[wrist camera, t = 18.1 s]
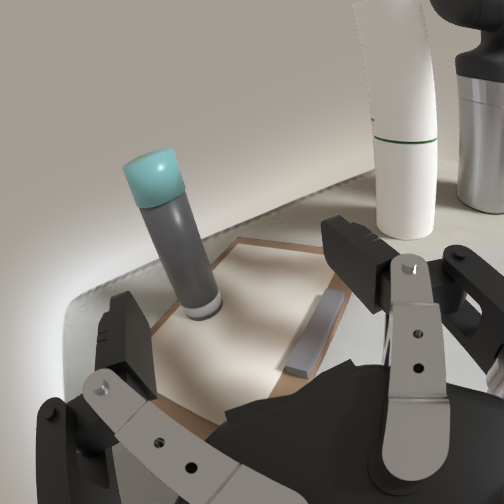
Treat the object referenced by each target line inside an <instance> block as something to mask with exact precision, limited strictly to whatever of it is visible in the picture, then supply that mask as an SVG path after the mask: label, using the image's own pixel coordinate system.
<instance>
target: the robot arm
mask: <svg viewBox="0 0 504 504" xmlns="http://www.w3.org/2000/svg"><path fill="white" fill-rule="evenodd" d="M430 2H431V4H432V6H433V8H434V10H435V11H436V12H437V13H438V15H439V16H441V17H442V18H443V19H444V20H446V21H448V22H450V23H453V24H455V25H458V26H462V27H467V28H472V29H478V30H481V43H480V45H479V46H478V47H477V48H475V49H473V50H471V51H469V52H465V53H461V54H459V55H457V56H456V58H455V65H456V74H457V84H458V96H459V121H460V143H459V145H460V146H459V147H460V148H459V169H458V184H457V196H458V197H459V199H460V200H461V201H462V202H464V203H465V204H466V205H468V206H470V207H472V208H474V209H477V210H480V211H483V212H488V213H504V0H430ZM321 232H322V242H323V252H324V257H325V260H326V262H327V264H328V265H329V267H330V268H331V269H332V270H333V271H334V272H335V273H336V274H337V275H338V276H339V277H340V279H341V280H342V281H343V282H344V283H345V284H346V285H347V286H348V287H349V288H350V289H351V291H352V292H353V293H354V294H355V295H356V296H357V297H358V298H359V299H360V301H361V302H362V303H363V304H364V305H365V306H366V307H367V308H368V310H369V311H370V312H371V313H372V314H375V313H377V312H379V311H381V310H383V311H384V312H385V313H386V314H385V327H384V344H383V357H382V364H381V365H375V364H373V365H361V366H355V365H354V363H353V362H352V360H351V359H349V360H347V361H345V362H343V363H341V364H339V365H337V366H335V367H333V368H331V369H329V370H326V371H324V372H322V373H321V374H319V375H318V376H317V377H315V378H314V379H313V380H311V381H310V382H309V383H307V384H306V385H305V386H303V387H302V388H301V389H299V390H298V391H297V392H295V393H293V394H290V395H285V396H279V397H273V398H267V399H260V400H255V401H252V402H250V403H247V404H244V405H241V406H239V407H236V408H233V409H230V410H227V411H224V413H225V416H226V419H227V421H225V422H224V423H222V424H221V425H219V426H218V427H217V428H216V429H215V430H214V431H213V432H212V433H210V435H209V436H208V437H207V438H206V440H205V441H203V440H202V439H200V438H199V437H197V436H196V435H194V434H193V433H191V432H190V431H189V430H187V429H186V428H184V427H183V426H182V425H180V424H179V423H177V422H176V421H175V420H173V419H172V418H171V417H169V416H168V415H167V414H165V413H164V412H163V411H162V410H160V409H159V408H158V407H156V406H155V405H154V404H153V403H151V402H150V401H151V400H155V399H158V394H157V387H156V379H155V370H154V361H153V351H152V340H151V331H150V327H149V324H148V322H147V320H146V318H145V316H144V314H143V313H142V311H141V309H140V308H139V306H138V304H137V303H136V301H135V299H134V297H133V296H132V294H131V293H130V292H129V291H126V292H123V293H121V294H118V295H115V296H113V297H111V300H110V310H109V312H106V313H104V314H103V316H102V318H101V320H100V322H99V326H98V335H97V346H96V358H95V372H93V373H92V374H91V375H90V376H89V377H88V378H87V379H86V381H85V383H84V385H83V391H82V392H83V393H82V394H81V395H80V396H78V397H76V398H75V399H73V400H71V401H70V402H68V403H65V402H64V401H63V400H61V399H60V398H57V397H54V398H50V399H48V400H47V401H45V402H44V403H43V404H42V406H41V407H40V409H39V411H38V415H37V428H36V485H37V499H38V504H121V499H120V494H119V489H118V484H117V479H116V473H115V467H114V461H113V454H112V446H114V445H115V444H117V443H119V442H121V443H122V445H123V446H124V447H125V448H126V449H127V450H128V451H129V452H130V453H132V454H133V455H134V456H135V457H136V458H137V459H138V460H139V461H140V462H141V463H142V464H143V465H144V466H145V467H146V468H147V469H149V470H150V471H151V472H152V473H153V474H154V475H155V476H156V477H158V478H159V479H160V480H161V481H162V482H163V483H165V484H166V485H167V486H168V487H169V488H171V489H172V490H173V491H174V492H176V493H177V494H178V495H179V496H178V498H177V500H176V502H175V504H504V276H502V275H501V274H500V273H499V272H498V271H497V270H495V269H494V268H493V267H492V266H491V265H489V264H488V263H487V262H486V261H485V260H483V259H482V258H481V257H480V256H478V255H477V254H476V253H475V252H473V251H472V250H471V249H469V248H467V247H465V246H462V245H451V246H448V247H446V248H445V250H444V252H443V258H442V259H439V260H434V261H428V262H426V261H425V260H424V259H423V258H421V257H420V256H417V255H414V254H400V253H398V252H397V251H396V250H395V249H393V248H392V247H391V246H389V245H388V244H387V243H386V242H384V241H383V240H382V239H379V237H378V236H377V235H375V234H373V233H372V232H371V231H370V230H369V229H367V228H366V227H365V226H362V225H359V224H356V223H351V224H350V223H349V222H348V221H346V220H345V219H344V218H342V217H341V216H339V215H338V216H335V217H332V218H329V219H326V220H324V221H322V222H321ZM467 293H468V294H469V295H470V296H471V297H472V298H473V299H474V300H475V301H476V302H477V303H478V304H479V305H480V307H481V310H482V315H481V314H480V313H479V312H478V311H477V310H476V309H475V308H474V307H473V306H472V305H471V304H470V303H469V302H468V301H467V300H466V296H467ZM442 323H443V324H444V326H445V327H446V328H447V329H448V330H449V331H450V332H451V333H452V335H453V336H454V337H455V338H456V339H457V340H458V342H459V343H460V344H461V345H462V346H463V347H464V349H465V350H466V351H467V352H468V353H469V355H470V356H471V357H472V358H473V359H474V361H475V362H476V363H477V364H478V365H479V367H480V368H481V369H482V370H483V372H484V373H485V374H486V375H487V377H486V382H487V386H488V391H487V393H485V392H481V391H477V390H473V389H469V388H465V387H461V386H457V385H453V384H449V383H446V370H445V353H444V341H443V330H442Z"/></svg>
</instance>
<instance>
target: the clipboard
mask: <svg viewBox="0 0 504 504" xmlns="http://www.w3.org/2000/svg"><path fill="white" fill-rule="evenodd" d="M210 267H211V270H212V272H213V275H214V278H215V281H216V284H217V285H218V288H219V290H220V293H221V296H222V300H223V306H222V308H221V310H220V311H219V312H218V313H217V314H216V315H215V316H213V317H212V318H209V319H207V320H203V321H194V320H191V319H189V318H188V317H187V316H186V314H185V313H184V311H183V309H182V307H181V305H180V303H179V300H178V301H177V302H176V303H175V304H174V305H173V306H172V307H171V308H170V309H169V310H168V311H167V312H166V313H165V314H164V315H163V317H162V318H161V319H160V320H159V321H158V322H157V323H156V324H155V325H154V326H153V327H152V328H151V329H150V331H151V340H152V351H153V361H154V370H155V379H156V387H157V394H158V399H155V400H151V401H150V402H151V403H153V404H154V405H155V406H156V407H158V408H159V409H160V410H162V411H163V412H164V413H165V414H167V415H168V416H169V417H171V418H172V419H173V420H175V421H176V422H177V423H179V424H180V425H182V426H183V427H184V428H186V429H187V430H189V431H190V432H191V433H193V434H194V435H196V436H197V437H199V438H200V439H202V440H203V441H205V440H206V438H207V437H208V436H209V435H210V433H212V432H213V431H214V430H215V429H216V428H217V427H218V426H219V425H221V424H222V423H224V422H225V421H227V419H226V416H225V413H224V411H227V410H230V409H233V408H236V407H239V406H241V405H244V404H247V403H250V402H252V401H255V400H260V399H267V398H273V397H279V396H285V395H290V394H293V393H295V392H297V391H298V390H299V389H301V388H302V387H303V386H305V385H306V384H307V383H309V382H310V381H311V380H313V379H314V377H315V375H316V373H317V370H318V368H319V366H320V364H321V362H322V360H323V358H324V356H325V353H326V351H327V349H328V347H329V345H330V343H331V340H332V338H333V336H334V334H335V331H336V329H337V327H338V324H339V322H340V320H341V317H342V315H343V313H344V310H345V308H346V305H347V303H348V300H349V298H350V295H351V293H352V291H351V289H350V288H349V287H348V286H347V285H346V284H345V283H344V282H343V281H342V280H341V279H340V277H339V276H338V275H337V274H336V273H335V272H334V271H333V270H332V269H331V268H330V267H329V265H328V264H327V262H326V260H325V257H324V252H323V247H316V246H308V245H300V244H292V243H284V242H276V241H268V240H259V239H251V238H242V237H238V238H237V239H236V240H235V241H234V242H233V243H232V244H231V245H230V246H229V247H228V248H227V249H226V250H225V251H224V252H223V253H222V254H221V255H220V256H219V257H218V259H217V260H216V261H215V262H214V263H213V264H212V265H211V266H210Z"/></svg>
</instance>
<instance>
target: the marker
mask: <svg viewBox="0 0 504 504" xmlns="http://www.w3.org/2000/svg"><path fill="white" fill-rule="evenodd" d="M123 170H124V173H125V176H126V179H127V181H128V184H129V187H130V189H131V192H132V195H133V197H134V200H135V203H136V205H137V207H138V208H139V209H140V212H141V214H142V217H143V219H144V221H145V224H146V227H147V229H148V231H149V234H150V236H151V239H152V241H153V243H154V246H155V248H156V251H157V253H158V255H159V257H160V260H161V262H162V264H163V267H164V269H165V271H166V273H167V276H168V278H169V280H170V282H171V284H172V287H173V289H174V291H175V293H176V295H177V297H178V299H179V303H180V305H181V307H182V309H183V311H184V313H185V314H186V316H187V317H188V318H189V319H191V320H194V321H203V320H207V319H209V318H212V317H213V316H215V315H216V314H217V313H218V312H219V311H220V310H221V308H222V306H223V300H222V296H221V293H220V290H219V288H218V285H217V284H216V281H215V278H214V275H213V272H212V270H211V267H210V264H209V261H208V258H207V255H206V252H205V249H204V247H203V244H202V241H201V238H200V235H199V232H198V229H197V226H196V223H195V220H194V217H193V214H192V211H191V208H190V205H189V202H188V199H187V195H186V192H185V185H184V181H183V178H182V175H181V172H180V169H179V166H178V162H177V159H176V155H175V152H174V149H173V148H164V149H160V150H156V151H153V152H150V153H147V154H144V155H142V156H140V157H137V158H135V159H133V160H131V161H130V162H128V163H127V164H125V165H124V166H123Z"/></svg>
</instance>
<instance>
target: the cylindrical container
mask: <svg viewBox="0 0 504 504" xmlns="http://www.w3.org/2000/svg"><path fill="white" fill-rule="evenodd" d="M352 9H353V13H354V17H355V22H356V26H357V31H358V36H359V41H360V46H361V52H362V57H363V63H364V69H365V75H366V82H367V89H368V97H369V105H370V113H371V122H372V131H373V132H372V133H373V143H374V159H375V177H376V211H377V227H378V229H379V230H380V231H381V232H383V233H384V234H386V235H388V236H390V237H393V238H396V239H400V240H417V239H421V238H424V237H426V236H428V235H429V234H430V233H431V232H432V230H433V224H434V213H435V200H436V183H437V118H436V100H435V87H434V77H433V68H432V61H431V54H430V47H429V41H428V35H427V30H426V24H425V20H424V15H423V10H422V6H421V4H420V3H418V2H415V1H411V0H365V1H360V2H357V3H354V4H353V5H352Z"/></svg>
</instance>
